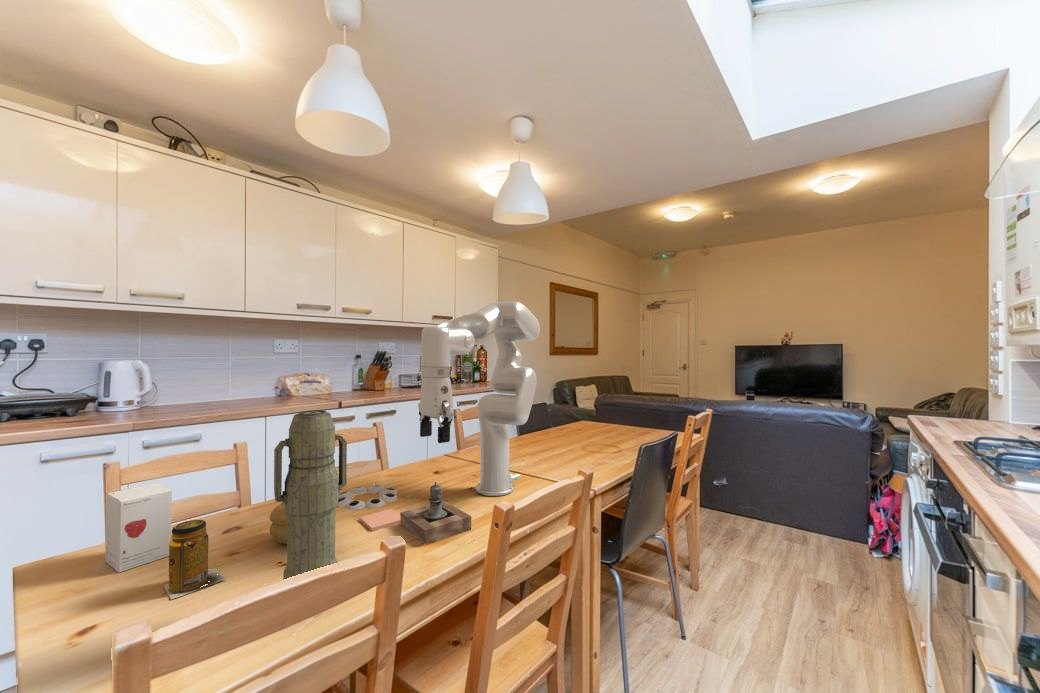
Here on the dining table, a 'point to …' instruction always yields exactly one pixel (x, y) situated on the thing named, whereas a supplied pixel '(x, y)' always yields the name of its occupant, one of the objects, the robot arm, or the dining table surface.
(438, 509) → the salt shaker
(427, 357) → the robot arm
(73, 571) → the dining table surface
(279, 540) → the pot
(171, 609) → the dining table surface
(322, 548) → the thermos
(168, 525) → the supplement box
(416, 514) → the brown square wooden frame
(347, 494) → the paint palette
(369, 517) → the terracotta tile
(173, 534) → the condiment
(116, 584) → the dining table surface
